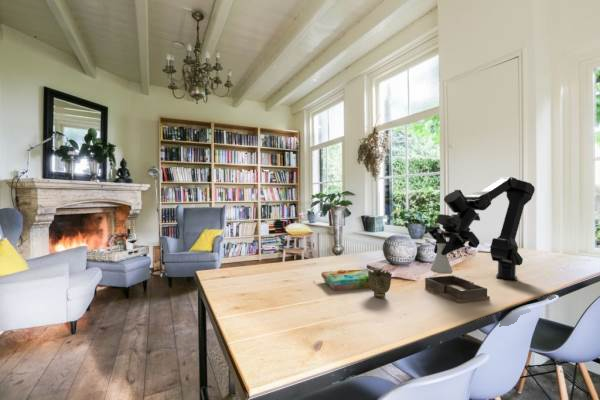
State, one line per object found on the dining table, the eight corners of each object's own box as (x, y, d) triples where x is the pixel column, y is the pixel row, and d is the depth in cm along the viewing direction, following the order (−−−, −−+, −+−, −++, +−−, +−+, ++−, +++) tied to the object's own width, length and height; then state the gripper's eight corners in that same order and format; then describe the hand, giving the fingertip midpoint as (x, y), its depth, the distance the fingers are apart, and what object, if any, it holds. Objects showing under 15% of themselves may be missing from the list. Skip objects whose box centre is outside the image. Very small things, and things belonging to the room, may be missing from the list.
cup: (378, 302, 88) (379, 276, 87) (363, 295, 94) (363, 271, 94) (396, 298, 91) (396, 273, 91) (380, 291, 98) (380, 268, 97)
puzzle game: (321, 270, 108) (368, 266, 114) (321, 282, 108) (368, 278, 114) (333, 279, 97) (384, 274, 102) (333, 292, 97) (384, 287, 103)
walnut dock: (425, 287, 101) (425, 277, 101) (452, 285, 105) (452, 275, 104) (458, 303, 87) (458, 291, 87) (489, 299, 90) (489, 288, 90)
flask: (451, 269, 104) (451, 242, 104) (454, 275, 97) (454, 246, 97) (429, 268, 107) (429, 241, 107) (431, 273, 100) (431, 245, 100)
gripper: (430, 205, 112) (407, 235, 108) (473, 207, 94) (447, 243, 91) (446, 224, 114) (424, 253, 111) (490, 230, 97) (465, 265, 93)
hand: (438, 253), depth 101 cm, fingers closed on flask, 3 cm apart
